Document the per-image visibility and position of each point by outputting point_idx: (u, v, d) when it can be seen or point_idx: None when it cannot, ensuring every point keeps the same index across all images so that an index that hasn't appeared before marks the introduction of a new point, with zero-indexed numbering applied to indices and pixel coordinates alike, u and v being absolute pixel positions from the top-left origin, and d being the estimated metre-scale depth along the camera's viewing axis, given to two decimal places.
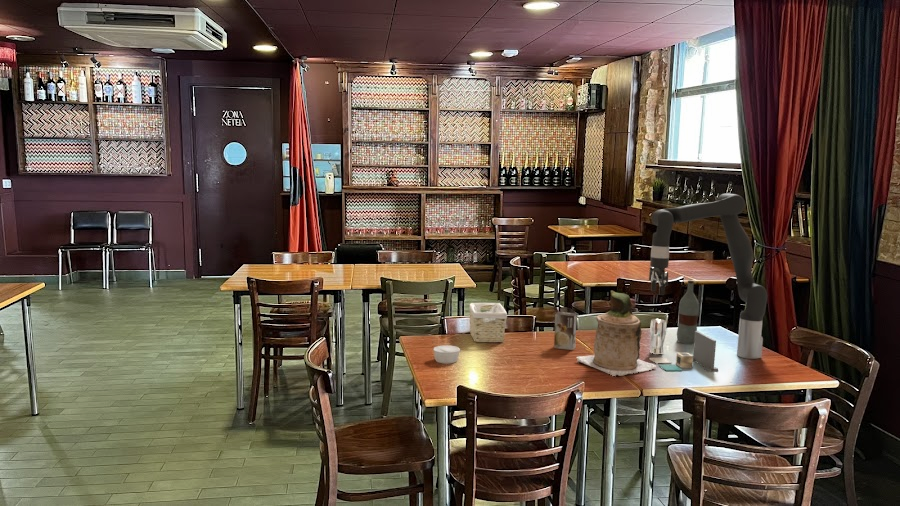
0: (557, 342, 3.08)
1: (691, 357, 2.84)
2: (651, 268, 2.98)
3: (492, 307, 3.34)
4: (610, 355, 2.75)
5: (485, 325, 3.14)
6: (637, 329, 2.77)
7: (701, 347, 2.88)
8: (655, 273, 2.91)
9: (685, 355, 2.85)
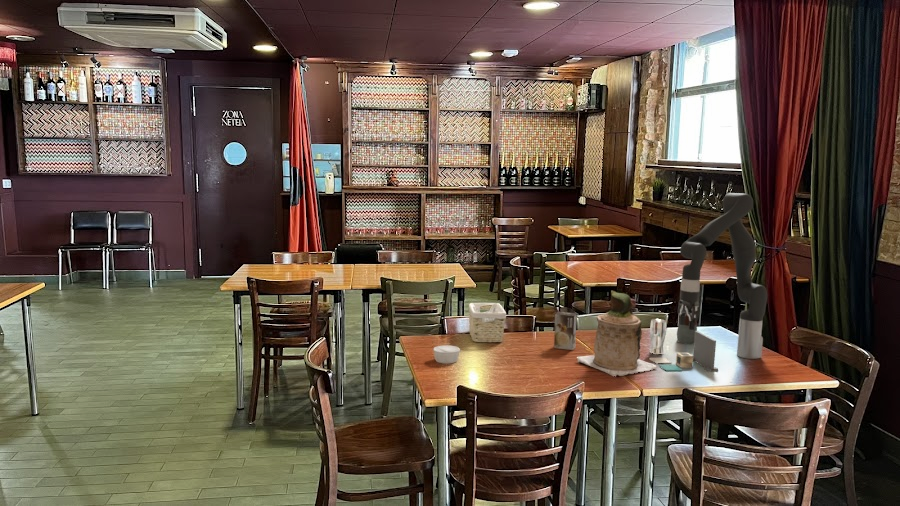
0: (557, 342, 3.08)
1: (691, 357, 2.84)
2: (680, 301, 2.89)
3: (491, 307, 3.34)
4: (610, 355, 2.75)
5: (484, 325, 3.14)
6: (637, 329, 2.77)
7: (701, 347, 2.88)
8: (685, 307, 2.82)
9: (685, 355, 2.85)
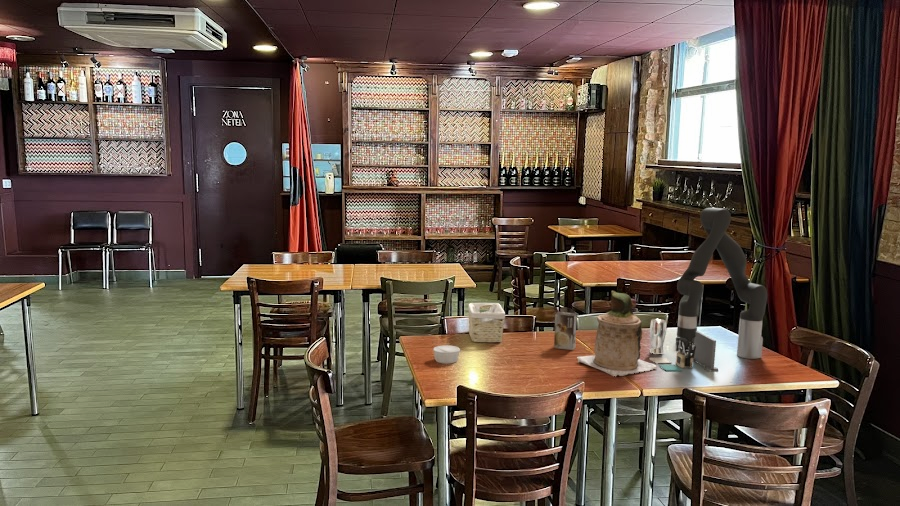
0: (557, 342, 3.08)
1: None
2: (677, 338, 2.91)
3: (491, 307, 3.34)
4: (611, 355, 2.75)
5: (483, 325, 3.14)
6: (638, 329, 2.77)
7: (701, 347, 2.88)
8: (682, 343, 2.84)
9: None
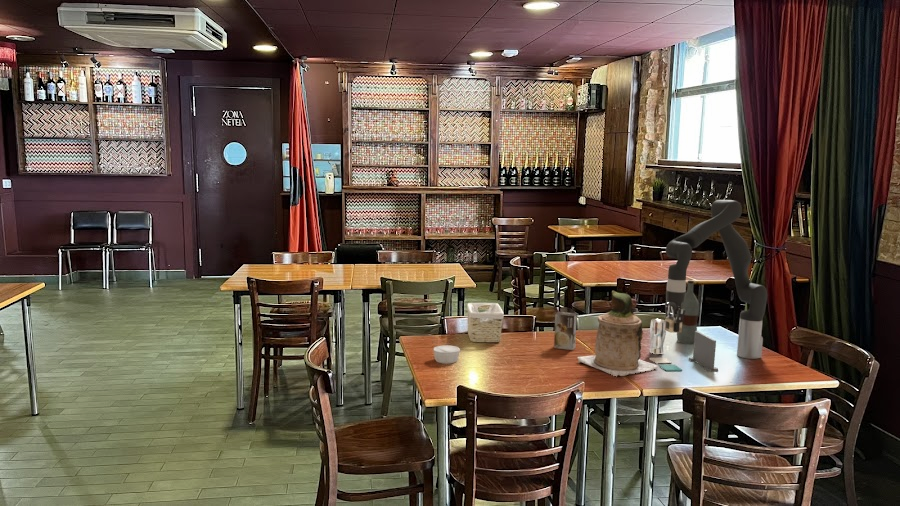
0: (557, 342, 3.08)
1: None
2: (666, 303, 2.84)
3: (490, 307, 3.34)
4: (611, 355, 2.75)
5: (482, 325, 3.14)
6: (638, 329, 2.77)
7: (701, 347, 2.88)
8: (671, 307, 2.77)
9: None
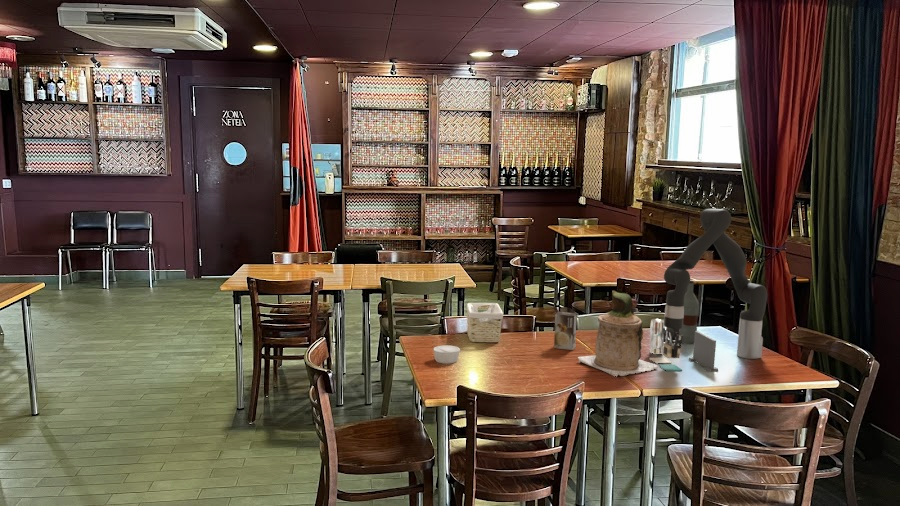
0: (557, 342, 3.08)
1: None
2: (664, 328, 2.85)
3: (490, 307, 3.34)
4: (611, 355, 2.75)
5: (481, 325, 3.14)
6: (639, 329, 2.77)
7: (701, 347, 2.88)
8: (669, 333, 2.79)
9: None
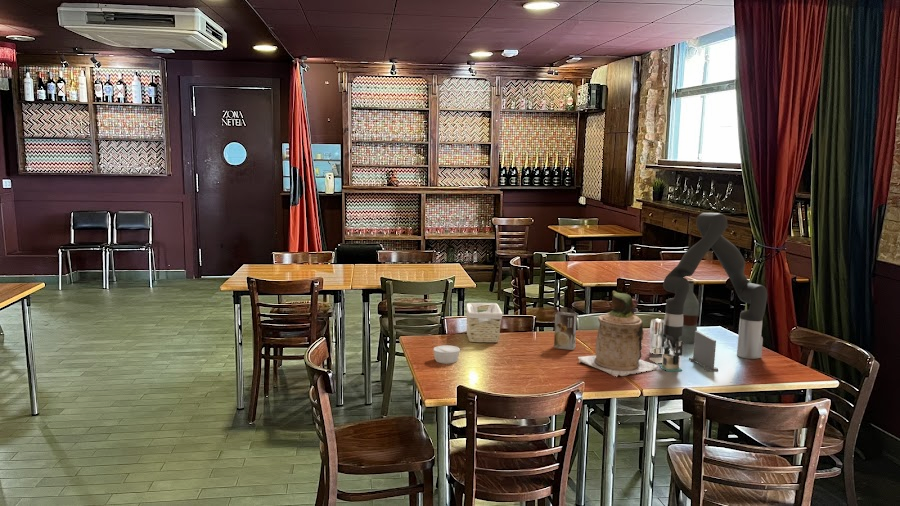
0: (557, 342, 3.08)
1: None
2: (664, 334, 2.86)
3: (489, 307, 3.34)
4: (612, 355, 2.75)
5: (480, 325, 3.14)
6: (639, 329, 2.77)
7: (701, 347, 2.88)
8: (669, 341, 2.79)
9: (671, 356, 2.80)
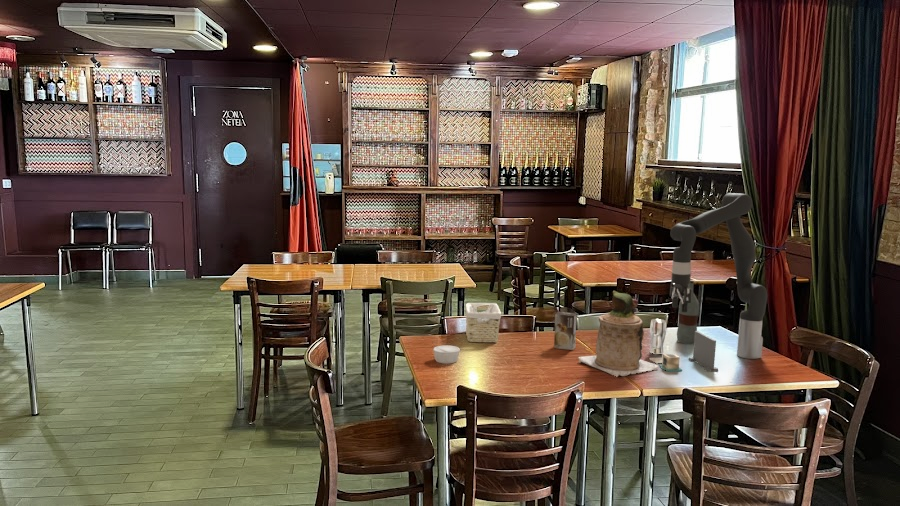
0: (557, 342, 3.08)
1: (677, 358, 2.79)
2: (672, 284, 2.88)
3: (488, 307, 3.34)
4: (612, 355, 2.75)
5: (479, 325, 3.14)
6: (639, 329, 2.77)
7: (701, 347, 2.88)
8: (677, 290, 2.81)
9: (671, 356, 2.80)
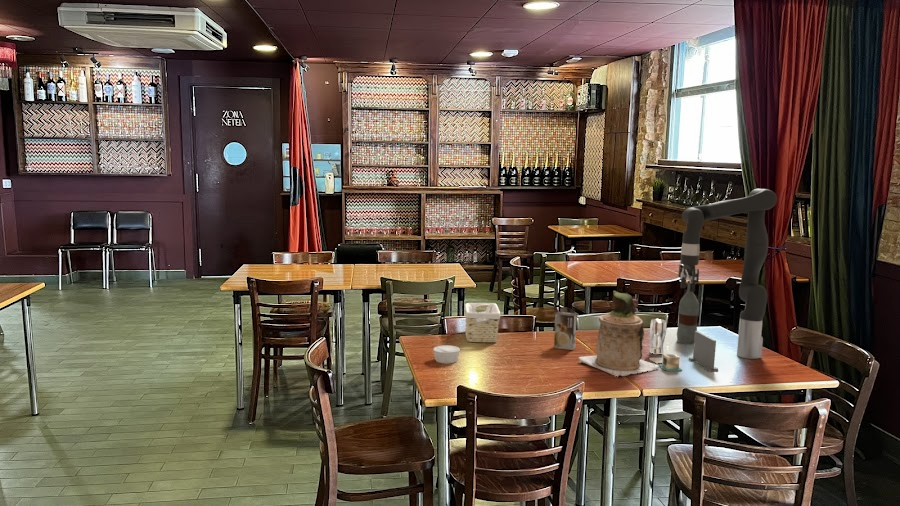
0: (557, 342, 3.08)
1: (677, 358, 2.79)
2: (681, 265, 3.01)
3: (488, 307, 3.34)
4: (612, 355, 2.75)
5: (478, 325, 3.14)
6: (640, 329, 2.77)
7: (701, 347, 2.88)
8: (685, 270, 2.95)
9: (671, 356, 2.80)
